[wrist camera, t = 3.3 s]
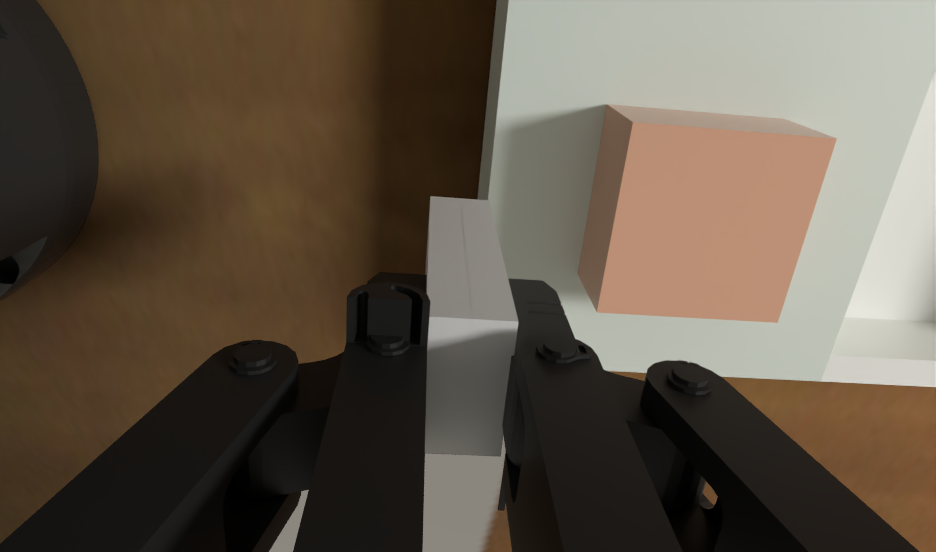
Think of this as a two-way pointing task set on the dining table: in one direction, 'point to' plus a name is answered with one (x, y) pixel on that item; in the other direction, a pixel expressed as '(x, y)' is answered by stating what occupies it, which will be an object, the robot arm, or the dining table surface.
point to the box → (897, 278)
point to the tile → (699, 212)
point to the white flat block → (714, 91)
